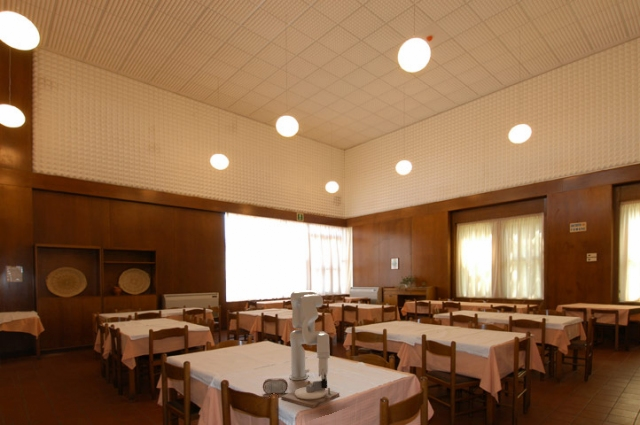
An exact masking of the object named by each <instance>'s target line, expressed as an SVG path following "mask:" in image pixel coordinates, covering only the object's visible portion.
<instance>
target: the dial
mask: <svg viewBox="0 0 640 425" xmlns="http://www.w3.org/2000/svg"><path fill="white" fill-rule="evenodd" d="M321 381H322V379H320V380H316V381H315V380H314V381H312V384H311V383H310V384H309V385H308V384H306V385H305V386H303V387H300V388H297V389H295V390H294V391H295V396H296V397H297V398H300V399H307V400H311V399H319V398H322V397H324V396H325V395H326V390H327V389H326V388H322V385H321Z"/></svg>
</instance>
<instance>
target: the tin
mask: <svg viewBox="0 0 640 425" xmlns="http://www.w3.org/2000/svg"><path fill="white" fill-rule="evenodd" d="M288 384H289V383H288V381H287V380H286V379H284V378H266V379H265V380H264V381H263V384H262V390H263V392H264V393H265V394H267V395H272V394H271V393H277V394H276V395H281V394H285V393H286V392H287V390H288V387H289V385H288Z"/></svg>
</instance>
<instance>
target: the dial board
mask: <svg viewBox="0 0 640 425" xmlns="http://www.w3.org/2000/svg"><path fill="white" fill-rule="evenodd" d="M309 384H311V380H307V385H309ZM327 388H328V389H325V390H326V395H325V396H324V397H322V398H319V399H311V400H307V399H300V398H297V397H296V396H295V391H296V390H294V391H292V392H289V393H286V394H284V395H281V398H280V399H281V400H282V401H283V400H284V401H286V402H289V403H294V404H297V405H301V406H303V407H307V408H312V409H315V408H316V407H318V406H321V405H323V404H325V403H327V402H329V401H331V400H333V399H335V398H337V397H339V396H340V392H337V391H333V390H331V387H327Z"/></svg>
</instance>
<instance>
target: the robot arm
mask: <svg viewBox="0 0 640 425" xmlns="http://www.w3.org/2000/svg"><path fill="white" fill-rule="evenodd" d="M289 299H290V303H291V307H292V309H291V310H292V311H291V312H292V314H291V315H292V316H291V317H292V318H291V323H292V324H291V325H292V327H293V329H295V330H292V331H291V332H290V333H289V341H290V352H291V354H290V356H291V357H290V358H291V359H290V361H291V363H290V364H291V365H290V366H291V367H290V368H291V370H290V371H291V374H290V375H289V379H290V380H292V381H303V380H307V379H308V377H309V376H308V374H307V373H310V372H311V370H310V369H309V368H308V369H306V351H305V348H304V347H303V345H305V344H306V345H307V346H314V345H316V359H318V377H321V380H322V381H321V385H322V388H325V389H327V388H328V379H327V378H328V373H329V358H331V355H330V353H331V352H330V335H329V333H327V332H325V331H323V330H318V331H317V330H316V320H317V319H318V318H319V312H318V308H322V307H323V305H324V300H323V296H322V295H321V294H320V293H319V292H318V291H315V290H313V289H311V290H297V291H293V292H292V293H291V294H290V298H289ZM315 330H316V331H315Z"/></svg>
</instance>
